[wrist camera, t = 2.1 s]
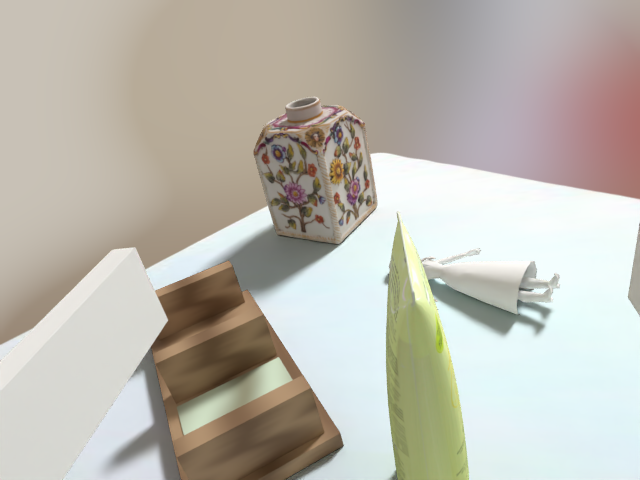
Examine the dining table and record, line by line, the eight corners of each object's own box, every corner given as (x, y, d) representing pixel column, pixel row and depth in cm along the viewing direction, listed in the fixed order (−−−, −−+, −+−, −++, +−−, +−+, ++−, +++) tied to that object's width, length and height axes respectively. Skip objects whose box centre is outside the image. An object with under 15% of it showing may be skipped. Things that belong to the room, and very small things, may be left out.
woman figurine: (536, 308, 39) (360, 275, 51) (538, 348, 41) (368, 308, 53) (571, 239, 47) (410, 224, 58) (572, 276, 48) (416, 255, 60)
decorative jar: (380, 206, 71) (362, 86, 62) (341, 246, 63) (313, 115, 54) (316, 200, 77) (291, 90, 69) (273, 235, 70) (239, 117, 61)
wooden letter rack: (250, 299, 56) (235, 254, 53) (343, 445, 37) (327, 387, 33) (152, 342, 53) (130, 297, 50) (196, 529, 33) (163, 474, 30)
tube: (493, 482, 32) (484, 238, 22) (444, 537, 30) (412, 290, 20) (428, 433, 36) (398, 210, 27) (381, 477, 34) (330, 250, 24)
